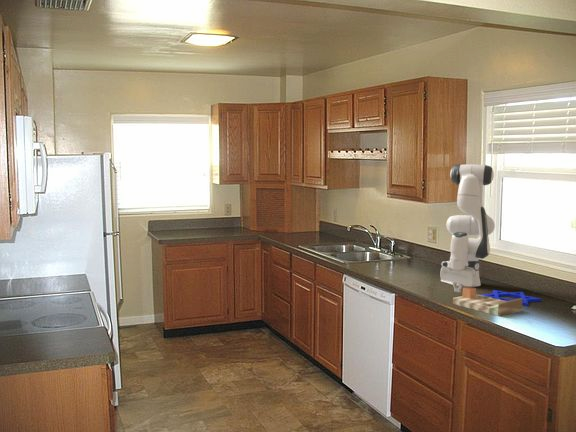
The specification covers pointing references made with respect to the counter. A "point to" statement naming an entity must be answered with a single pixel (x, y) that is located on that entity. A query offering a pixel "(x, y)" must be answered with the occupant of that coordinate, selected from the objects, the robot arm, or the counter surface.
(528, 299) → the symbol
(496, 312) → the board
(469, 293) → the block
